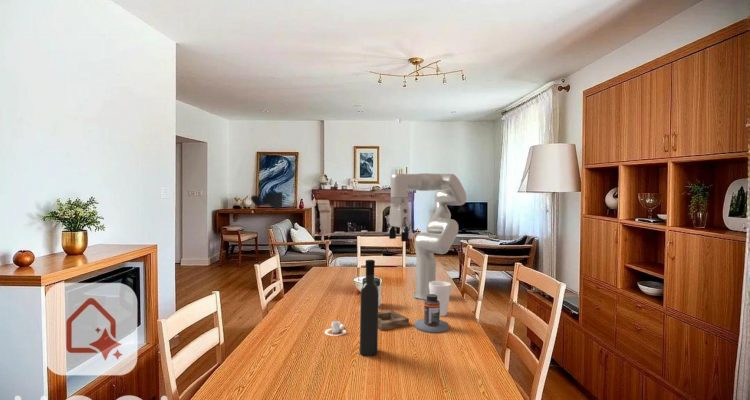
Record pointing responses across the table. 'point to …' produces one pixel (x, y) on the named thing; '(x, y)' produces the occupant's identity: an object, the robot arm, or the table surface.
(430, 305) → the supplement bottle
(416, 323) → the slate mat
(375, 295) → the wine bottle
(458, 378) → the table surface
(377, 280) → the jar
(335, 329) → the teacup and saucer
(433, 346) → the table surface
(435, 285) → the foam cup
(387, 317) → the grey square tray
